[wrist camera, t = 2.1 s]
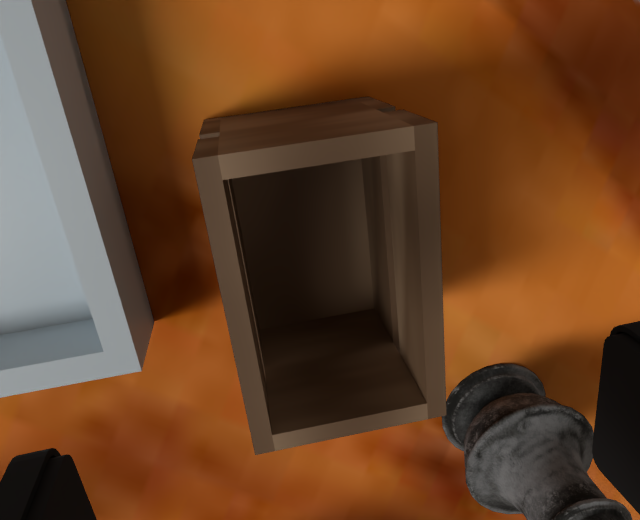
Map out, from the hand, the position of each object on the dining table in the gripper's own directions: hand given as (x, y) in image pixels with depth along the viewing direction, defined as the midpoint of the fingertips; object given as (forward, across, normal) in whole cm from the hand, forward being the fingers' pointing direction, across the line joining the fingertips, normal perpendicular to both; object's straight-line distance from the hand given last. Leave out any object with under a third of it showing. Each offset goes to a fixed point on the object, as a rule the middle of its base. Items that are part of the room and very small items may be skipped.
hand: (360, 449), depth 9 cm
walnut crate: (+13, -1, 0) cm, 13 cm away
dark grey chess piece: (+12, -9, +11) cm, 19 cm away
